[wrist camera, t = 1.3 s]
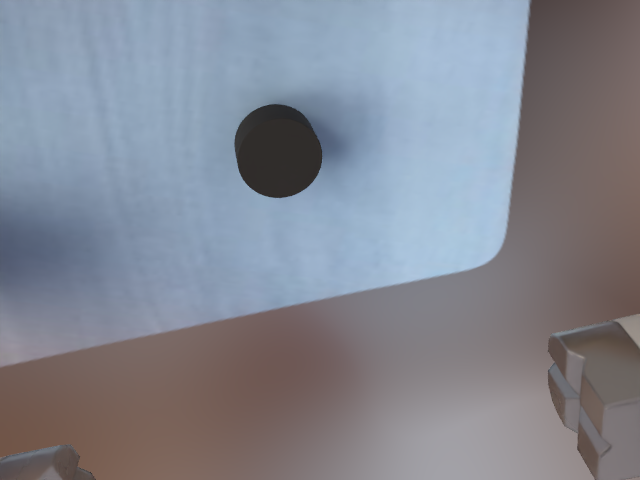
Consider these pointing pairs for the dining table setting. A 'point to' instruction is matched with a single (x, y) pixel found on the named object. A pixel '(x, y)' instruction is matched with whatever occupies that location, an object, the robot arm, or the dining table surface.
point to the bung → (277, 151)
